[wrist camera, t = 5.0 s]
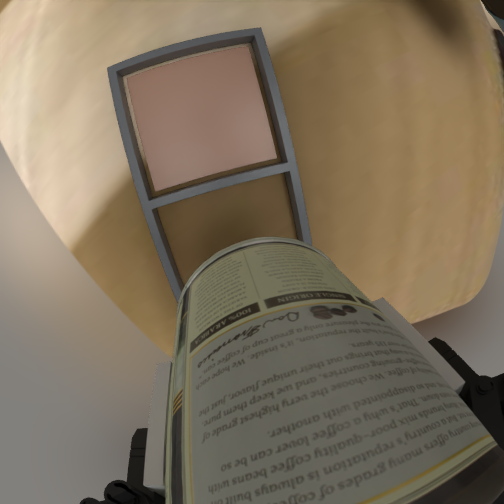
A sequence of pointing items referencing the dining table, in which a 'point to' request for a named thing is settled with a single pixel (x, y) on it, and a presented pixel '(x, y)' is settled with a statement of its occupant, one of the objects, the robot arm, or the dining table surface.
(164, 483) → the robot arm
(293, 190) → the organiser
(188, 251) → the dining table surface
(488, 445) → the coffee can
